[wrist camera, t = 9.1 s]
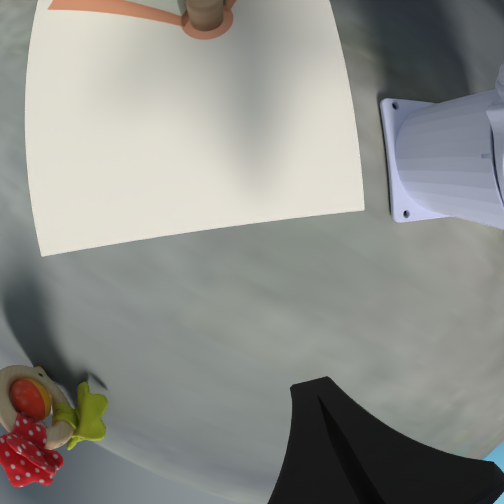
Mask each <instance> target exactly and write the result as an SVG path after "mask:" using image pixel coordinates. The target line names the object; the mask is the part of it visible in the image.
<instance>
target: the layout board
mask: <svg viewBox="0 0 504 504" xmlns="http://www.w3.org/2000/svg"><path fill="white" fill-rule="evenodd" d="M25 139H26V158H27V170H28V180H29V189H30V196H31V203H32V210H33V216H34V222H35V227H36V233H37V238H38V242H39V247H40V251H41V256H42V257H43V256H48V255H54V254H59V253H64V252H70V251H76V250H81V249H87V248H93V247H99V246H105V245H111V244H117V243H123V242H129V241H135V240H141V239H148V238H154V237H160V236H167V235H174V234H180V233H187V232H194V231H201V230H208V229H215V228H222V227H229V226H236V225H244V224H251V223H259V222H267V221H275V220H283V219H291V218H299V217H307V216H316V215H324V214H333V213H342V212H351V211H361V210H364V195H363V183H362V172H361V162H360V153H359V145H358V137H357V130H356V123H355V116H354V109H353V103H352V97H351V92H350V86H349V81H348V76H347V71H346V66H345V61H344V57H343V52H342V48H341V43H340V39H339V35H338V31H337V27H336V23H335V19H334V16H333V12H332V9H331V5H330V2H329V0H229V2H228V3H227V5H226V6H224V5H223V22H222V24H221V25H220V26H219V27H218V28H216V29H214V30H211V31H199V30H196V29H195V28H194V27H193V26H192V25H191V23H190V19H189V15H188V10H186V11H185V12H184V13H183V15H182V16H179V15H176V14H173V13H170V12H167V11H163V10H160V9H156V8H153V7H149V6H145V5H142V4H138V3H133V2H129V1H125V0H38V3H37V8H36V13H35V18H34V23H33V28H32V34H31V41H30V48H29V56H28V66H27V77H26V95H25Z"/></svg>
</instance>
